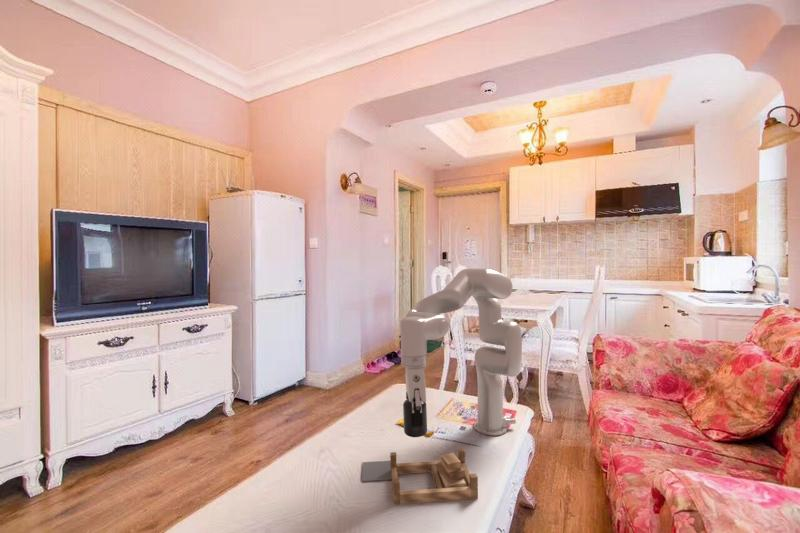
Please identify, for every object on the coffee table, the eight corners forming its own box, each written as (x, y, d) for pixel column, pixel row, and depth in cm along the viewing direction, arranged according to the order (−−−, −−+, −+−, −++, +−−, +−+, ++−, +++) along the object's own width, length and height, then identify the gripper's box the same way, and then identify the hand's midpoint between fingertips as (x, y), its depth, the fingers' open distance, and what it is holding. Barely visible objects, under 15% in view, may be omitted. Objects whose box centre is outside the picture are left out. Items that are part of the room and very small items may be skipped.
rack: (463, 466, 116) (463, 448, 116) (477, 498, 101) (477, 477, 100) (390, 471, 114) (390, 452, 114) (393, 504, 99) (393, 482, 99)
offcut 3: (455, 474, 112) (455, 465, 112) (465, 493, 104) (465, 482, 104) (436, 477, 111) (436, 467, 111) (445, 496, 103) (445, 485, 102)
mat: (393, 461, 119) (393, 460, 119) (395, 480, 109) (395, 478, 109) (362, 463, 119) (362, 462, 119) (361, 482, 109) (361, 481, 109)
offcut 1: (453, 460, 110) (453, 452, 110) (460, 470, 106) (460, 461, 105) (441, 463, 109) (441, 455, 109) (448, 472, 104) (448, 464, 104)
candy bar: (436, 435, 138) (435, 430, 138) (429, 439, 135) (429, 434, 134) (403, 421, 149) (403, 417, 149) (396, 425, 146) (396, 420, 146)
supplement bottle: (429, 428, 109) (428, 388, 108) (423, 439, 102) (422, 397, 102) (407, 425, 111) (406, 386, 111) (400, 436, 105) (399, 394, 104)
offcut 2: (451, 466, 112) (450, 458, 112) (465, 478, 106) (464, 469, 106) (437, 470, 110) (437, 462, 110) (450, 483, 103) (450, 474, 103)
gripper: (431, 368, 98) (433, 433, 98) (422, 351, 115) (423, 407, 116) (404, 369, 97) (405, 435, 98) (398, 352, 114) (399, 408, 115)
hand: (415, 419), depth 107 cm, fingers closed on supplement bottle, 6 cm apart
